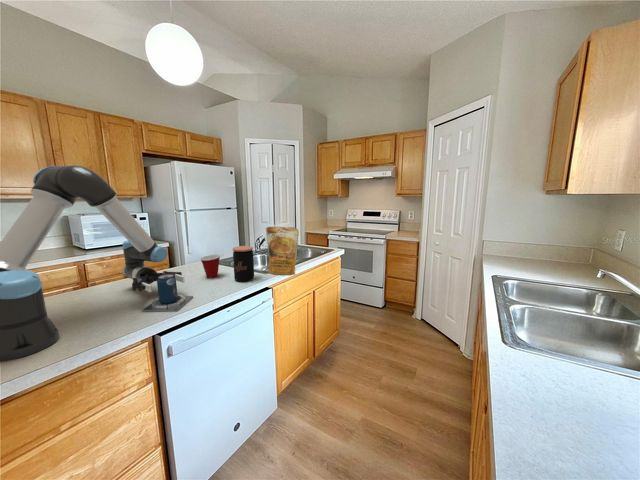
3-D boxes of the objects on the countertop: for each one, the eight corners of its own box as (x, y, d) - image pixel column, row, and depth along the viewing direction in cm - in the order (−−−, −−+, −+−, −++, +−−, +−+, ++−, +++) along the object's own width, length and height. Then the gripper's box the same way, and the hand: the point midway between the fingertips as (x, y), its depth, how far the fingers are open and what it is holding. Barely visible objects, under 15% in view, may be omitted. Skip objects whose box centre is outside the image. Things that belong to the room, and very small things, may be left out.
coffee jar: (230, 280, 140) (228, 248, 137) (244, 275, 149) (242, 245, 146) (244, 283, 135) (243, 250, 132) (258, 278, 145) (257, 247, 141)
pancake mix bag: (269, 271, 158) (268, 226, 153) (299, 272, 154) (298, 226, 149) (265, 274, 151) (263, 227, 146) (296, 276, 148) (295, 228, 143)
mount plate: (142, 311, 103) (141, 307, 103) (162, 297, 117) (161, 293, 116) (177, 311, 103) (177, 306, 103) (193, 297, 117) (192, 293, 117)
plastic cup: (201, 275, 149) (199, 255, 147) (221, 272, 154) (219, 253, 152) (201, 280, 140) (199, 259, 137) (222, 278, 144) (221, 257, 142)
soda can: (180, 302, 110) (177, 276, 108) (161, 307, 105) (158, 279, 103) (175, 298, 115) (173, 272, 113) (157, 302, 110) (154, 275, 108)
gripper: (172, 275, 131) (196, 283, 120) (113, 290, 111) (135, 302, 99) (171, 261, 130) (194, 268, 118) (111, 274, 109) (132, 284, 98)
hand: (167, 284), depth 109 cm, fingers open, 13 cm apart
